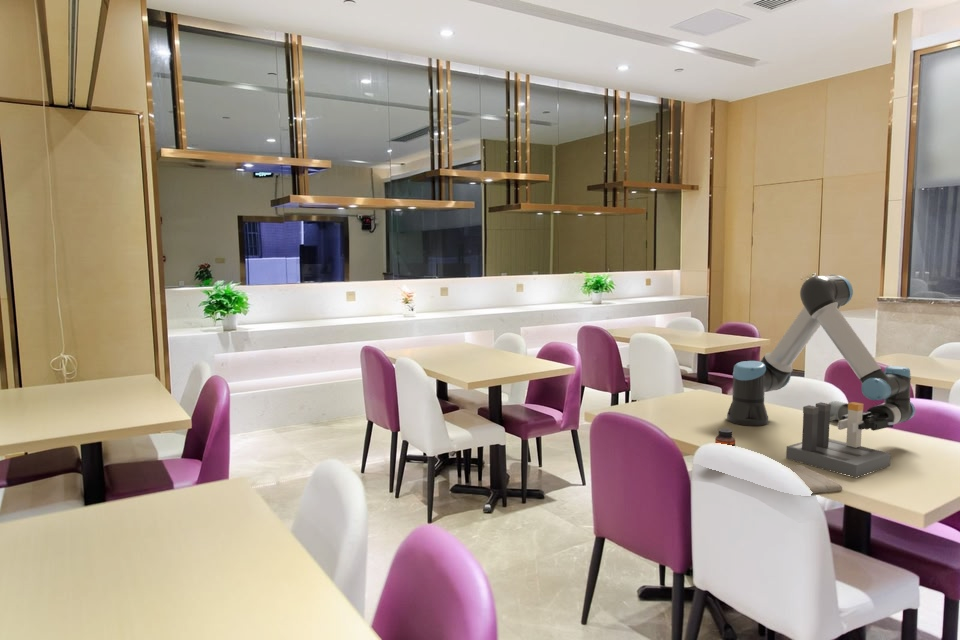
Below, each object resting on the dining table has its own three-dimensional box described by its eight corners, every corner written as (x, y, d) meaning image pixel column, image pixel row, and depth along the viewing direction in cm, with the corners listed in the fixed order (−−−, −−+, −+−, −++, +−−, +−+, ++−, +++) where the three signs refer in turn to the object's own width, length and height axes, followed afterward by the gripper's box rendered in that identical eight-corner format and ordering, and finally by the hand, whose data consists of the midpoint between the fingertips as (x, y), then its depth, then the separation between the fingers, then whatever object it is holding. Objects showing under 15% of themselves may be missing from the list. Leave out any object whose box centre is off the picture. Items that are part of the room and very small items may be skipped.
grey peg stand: (786, 458, 206) (788, 404, 204) (820, 447, 217) (822, 396, 215) (856, 478, 188) (859, 419, 186) (889, 465, 198) (893, 409, 196)
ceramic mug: (840, 417, 256) (840, 398, 256) (854, 422, 248) (855, 403, 247) (816, 418, 255) (816, 400, 254) (830, 424, 247) (830, 404, 246)
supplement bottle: (735, 463, 202) (736, 428, 200) (734, 469, 196) (735, 433, 195) (715, 460, 204) (716, 426, 203) (713, 466, 199) (714, 431, 198)
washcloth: (799, 471, 195) (799, 461, 195) (844, 492, 178) (844, 482, 178) (765, 474, 193) (765, 464, 192) (807, 496, 175) (808, 485, 175)
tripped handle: (845, 445, 205) (848, 403, 204) (851, 443, 207) (853, 401, 205) (855, 447, 203) (858, 405, 201) (861, 446, 204) (863, 403, 203)
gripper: (908, 432, 207) (871, 444, 195) (857, 421, 221) (819, 432, 208) (909, 409, 206) (872, 420, 194) (858, 400, 220) (820, 410, 207)
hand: (845, 426), depth 201 cm, fingers closed on tripped handle, 3 cm apart
